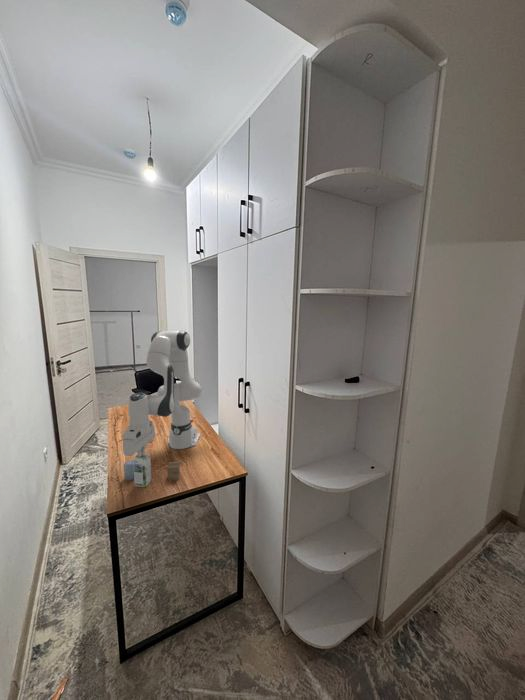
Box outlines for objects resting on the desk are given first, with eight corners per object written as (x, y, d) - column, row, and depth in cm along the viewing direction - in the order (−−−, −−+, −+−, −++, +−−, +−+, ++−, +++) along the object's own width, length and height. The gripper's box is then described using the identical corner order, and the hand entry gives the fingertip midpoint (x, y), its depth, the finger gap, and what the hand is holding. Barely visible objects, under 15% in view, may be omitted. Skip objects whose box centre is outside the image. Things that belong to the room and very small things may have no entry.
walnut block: (169, 474, 148) (168, 462, 146) (179, 474, 148) (179, 461, 147) (167, 480, 143) (167, 467, 142) (178, 479, 144) (177, 466, 142)
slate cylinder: (128, 474, 147) (128, 459, 146) (137, 475, 147) (136, 460, 145) (122, 480, 143) (121, 465, 141) (131, 481, 142) (130, 466, 140)
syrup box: (134, 486, 138) (132, 458, 135) (141, 479, 143) (139, 452, 141) (145, 487, 137) (143, 459, 135) (151, 480, 143) (150, 453, 140)
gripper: (146, 418, 146) (147, 444, 148) (119, 436, 126) (121, 465, 128) (157, 419, 145) (159, 445, 147) (132, 438, 125) (134, 467, 127)
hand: (141, 455), depth 138 cm, fingers closed
